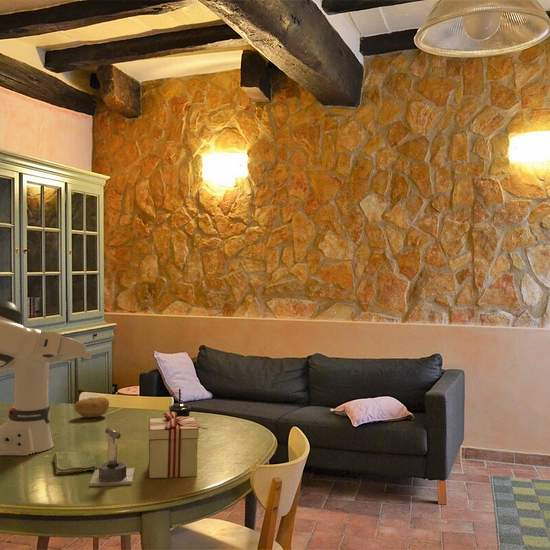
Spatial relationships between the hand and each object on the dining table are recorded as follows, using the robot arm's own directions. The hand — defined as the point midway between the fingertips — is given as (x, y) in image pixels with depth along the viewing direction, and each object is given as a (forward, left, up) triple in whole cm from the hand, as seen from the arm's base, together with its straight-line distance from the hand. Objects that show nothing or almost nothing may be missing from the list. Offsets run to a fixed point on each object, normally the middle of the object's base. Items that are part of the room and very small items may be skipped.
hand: (81, 358), depth 194 cm
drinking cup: (+29, +33, -37) cm, 57 cm away
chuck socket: (+9, +1, -37) cm, 38 cm away
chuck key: (+9, +1, -36) cm, 37 cm away
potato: (-7, +78, -37) cm, 86 cm away
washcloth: (-4, +15, -37) cm, 41 cm away
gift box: (+28, +7, -37) cm, 47 cm away
